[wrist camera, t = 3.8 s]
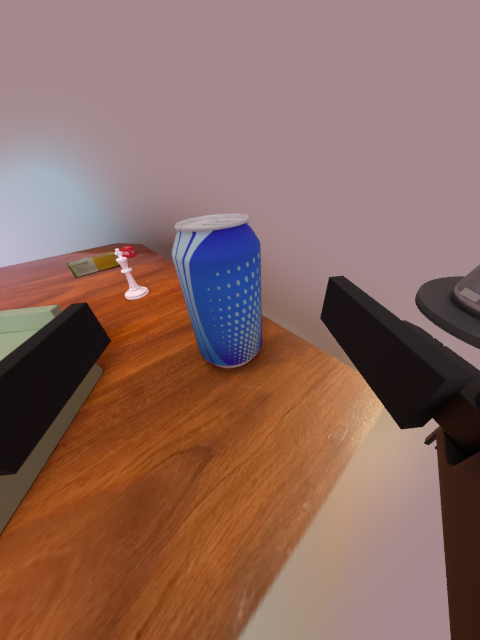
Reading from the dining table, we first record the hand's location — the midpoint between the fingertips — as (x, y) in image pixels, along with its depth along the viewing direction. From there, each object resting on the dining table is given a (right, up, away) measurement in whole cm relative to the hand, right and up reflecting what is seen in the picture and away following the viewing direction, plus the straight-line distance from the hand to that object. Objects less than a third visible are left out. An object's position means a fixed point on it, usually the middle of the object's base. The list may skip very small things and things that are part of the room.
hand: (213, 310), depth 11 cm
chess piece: (-22, +5, +32) cm, 39 cm away
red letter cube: (-38, +22, +58) cm, 73 cm away
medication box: (-42, +14, +47) cm, 65 cm away
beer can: (0, -5, +15) cm, 16 cm away
